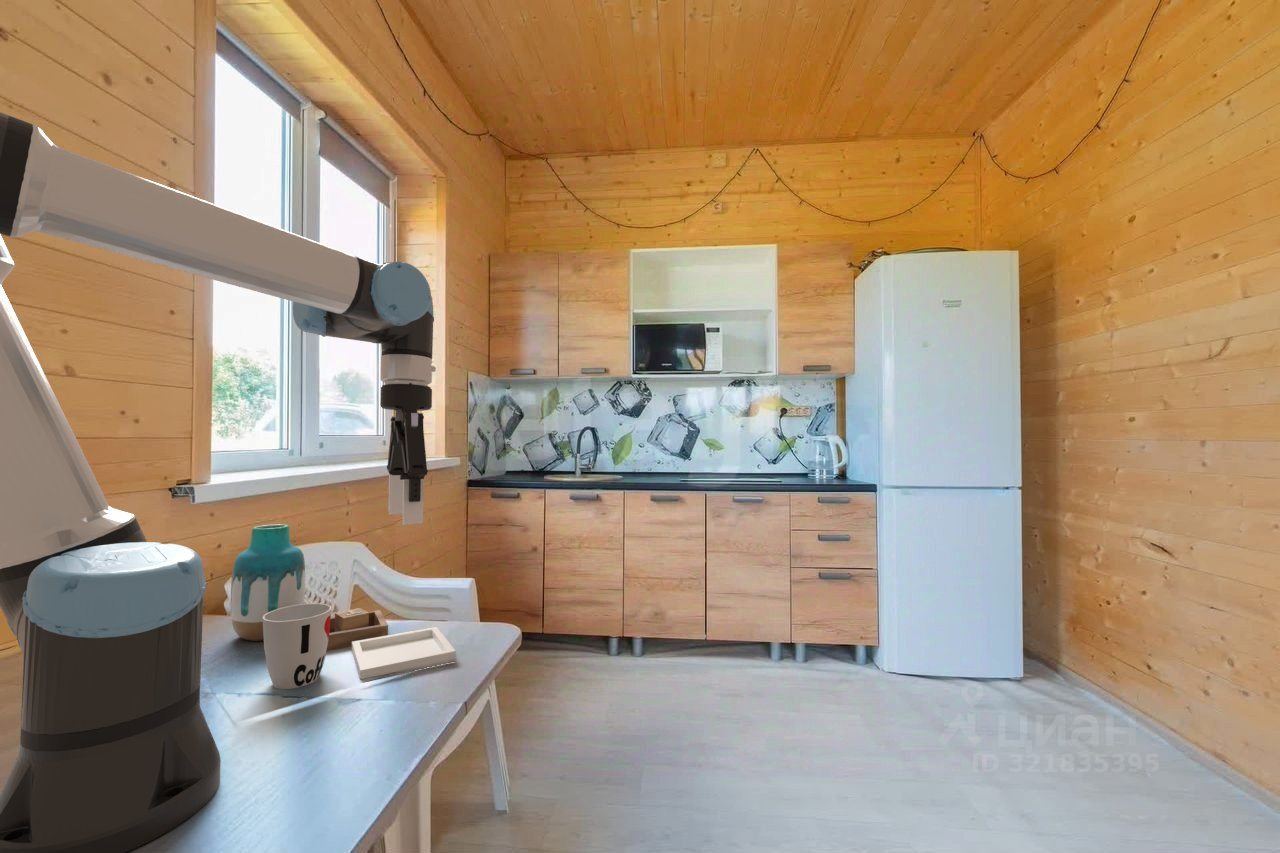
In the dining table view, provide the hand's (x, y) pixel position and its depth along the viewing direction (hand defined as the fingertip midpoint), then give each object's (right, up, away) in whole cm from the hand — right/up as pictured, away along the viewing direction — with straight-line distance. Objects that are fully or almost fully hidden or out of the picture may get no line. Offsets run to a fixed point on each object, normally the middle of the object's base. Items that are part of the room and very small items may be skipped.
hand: (404, 518), depth 84 cm
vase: (-27, -22, +8) cm, 36 cm away
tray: (0, -22, -1) cm, 22 cm away
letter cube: (-12, -21, +7) cm, 25 cm away
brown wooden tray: (-12, -22, +7) cm, 26 cm away
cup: (-11, -22, -10) cm, 26 cm away
